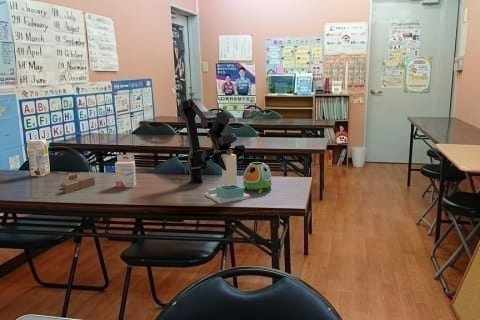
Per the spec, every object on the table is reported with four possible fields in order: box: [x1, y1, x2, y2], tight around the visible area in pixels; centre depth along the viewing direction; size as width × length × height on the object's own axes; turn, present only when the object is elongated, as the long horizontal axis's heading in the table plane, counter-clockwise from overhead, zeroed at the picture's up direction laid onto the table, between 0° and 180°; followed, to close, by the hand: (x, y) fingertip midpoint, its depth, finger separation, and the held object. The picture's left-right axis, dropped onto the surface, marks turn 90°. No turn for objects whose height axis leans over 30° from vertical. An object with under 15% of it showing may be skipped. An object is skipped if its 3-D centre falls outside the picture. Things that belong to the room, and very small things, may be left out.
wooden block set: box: [61, 172, 96, 194], centre depth 205 cm, size 17×6×18 cm
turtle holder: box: [242, 161, 273, 194], centre depth 196 cm, size 12×18×12 cm
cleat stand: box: [204, 184, 251, 204], centre depth 184 cm, size 14×14×5 cm
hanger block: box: [221, 150, 238, 186], centre depth 180 cm, size 4×4×14 cm
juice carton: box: [26, 138, 51, 177], centre depth 230 cm, size 8×9×19 cm
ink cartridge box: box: [114, 154, 137, 189], centre depth 203 cm, size 9×5×15 cm, turn 92°
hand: (230, 169), depth 179 cm, fingers closed on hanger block, 4 cm apart
